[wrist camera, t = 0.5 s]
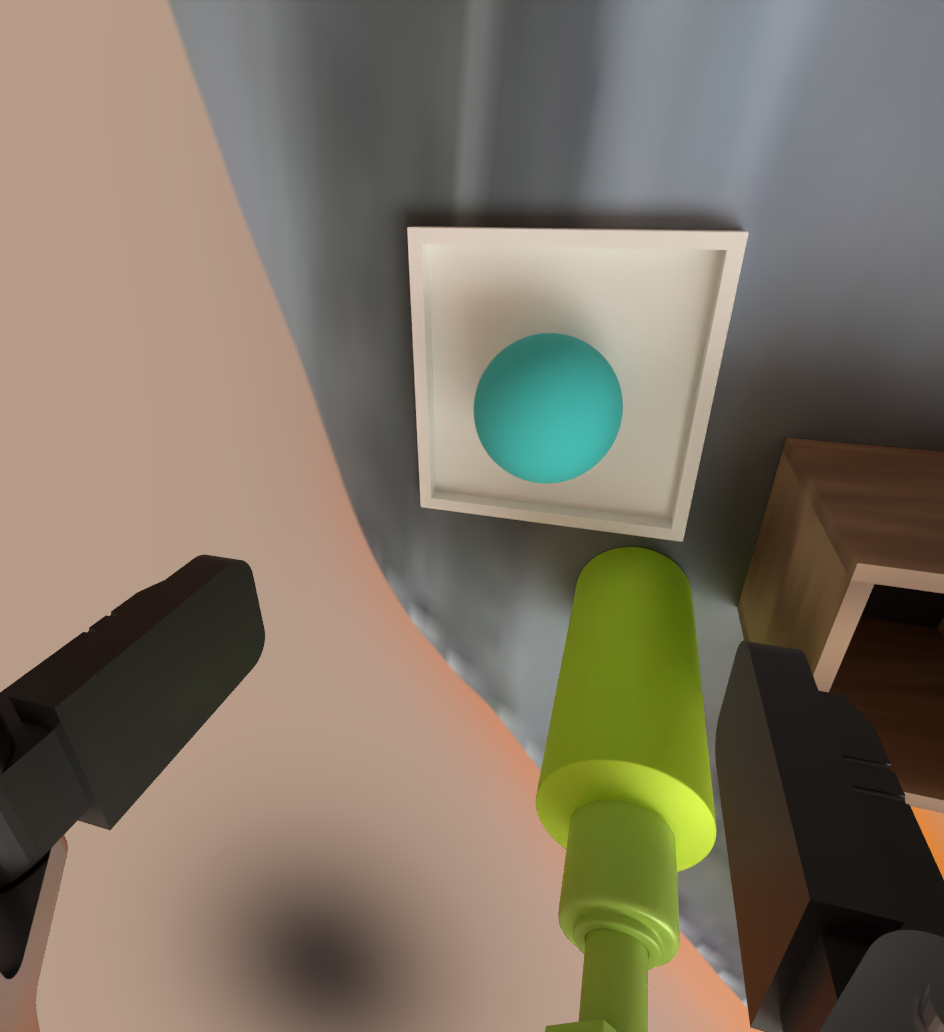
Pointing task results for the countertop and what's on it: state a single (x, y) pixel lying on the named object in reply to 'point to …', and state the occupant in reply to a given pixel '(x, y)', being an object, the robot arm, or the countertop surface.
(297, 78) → the countertop surface
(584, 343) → the ball
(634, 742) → the soap dispenser
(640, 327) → the dish
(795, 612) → the box
